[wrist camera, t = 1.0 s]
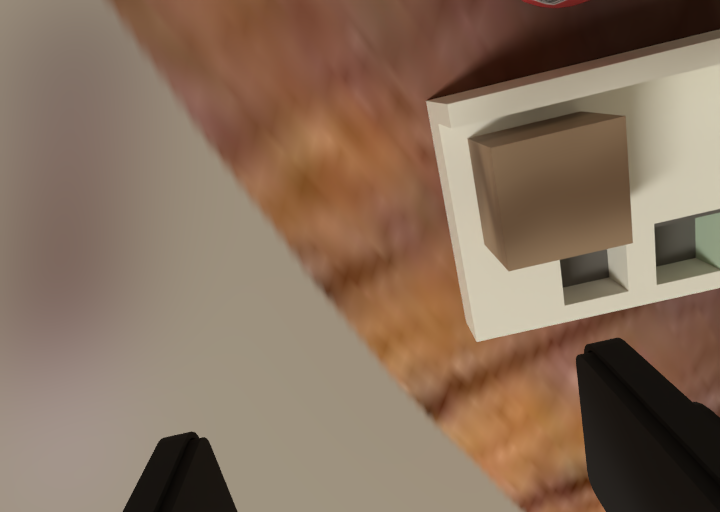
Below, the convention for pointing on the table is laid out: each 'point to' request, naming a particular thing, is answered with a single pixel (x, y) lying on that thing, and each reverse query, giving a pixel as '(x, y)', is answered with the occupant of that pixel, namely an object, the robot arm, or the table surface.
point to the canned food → (555, 3)
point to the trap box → (646, 177)
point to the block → (553, 188)
